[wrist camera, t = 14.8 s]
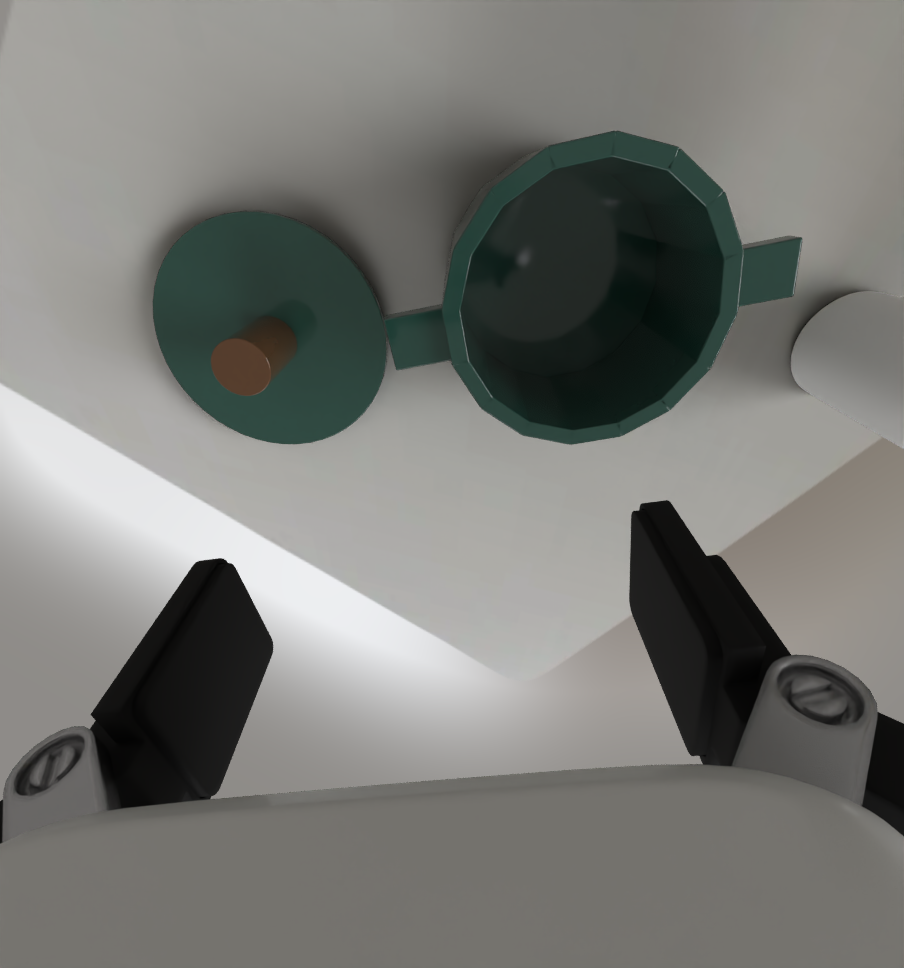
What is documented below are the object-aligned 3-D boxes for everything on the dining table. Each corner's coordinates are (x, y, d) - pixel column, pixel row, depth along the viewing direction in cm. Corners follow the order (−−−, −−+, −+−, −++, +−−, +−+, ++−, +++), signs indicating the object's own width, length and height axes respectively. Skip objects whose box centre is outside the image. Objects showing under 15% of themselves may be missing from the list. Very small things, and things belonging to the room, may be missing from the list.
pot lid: (118, 238, 28) (39, 251, 22) (352, 185, 26) (326, 185, 21) (221, 451, 35) (178, 499, 29) (411, 418, 33) (402, 462, 28)
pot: (376, 189, 26) (347, 191, 19) (726, 111, 25) (840, 79, 17) (426, 407, 33) (418, 470, 26) (708, 357, 31) (785, 409, 24)
